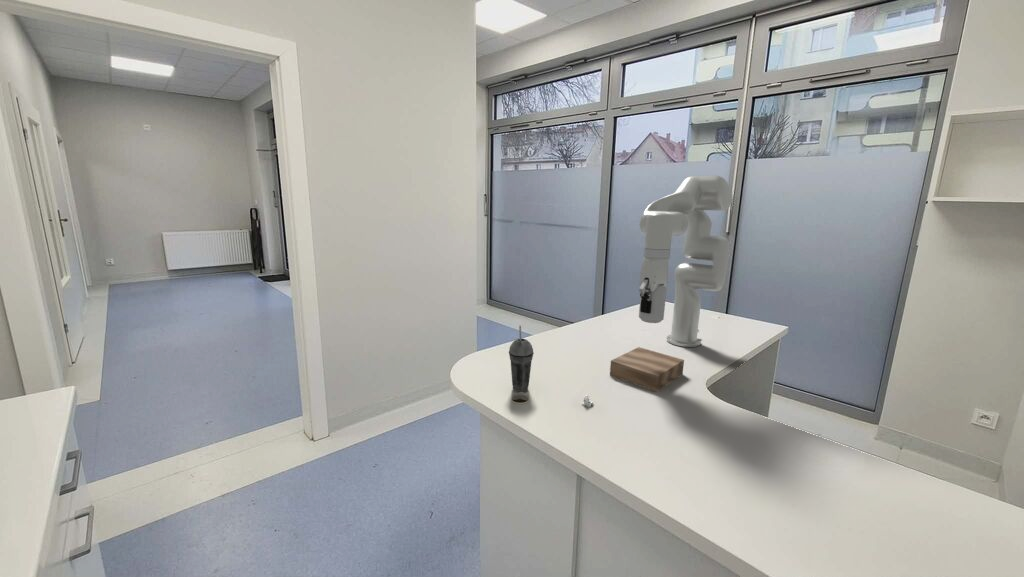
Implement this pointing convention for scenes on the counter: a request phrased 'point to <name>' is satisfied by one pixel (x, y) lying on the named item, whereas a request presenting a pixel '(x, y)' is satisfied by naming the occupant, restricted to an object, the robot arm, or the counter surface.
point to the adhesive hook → (587, 401)
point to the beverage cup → (520, 363)
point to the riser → (647, 368)
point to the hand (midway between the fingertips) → (651, 309)
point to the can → (655, 306)
